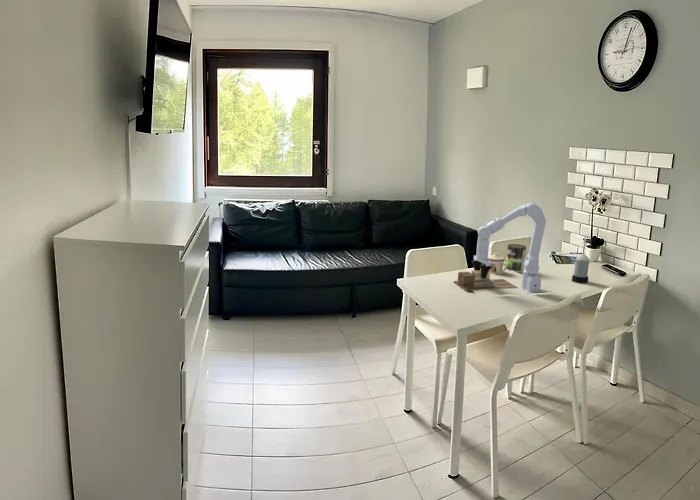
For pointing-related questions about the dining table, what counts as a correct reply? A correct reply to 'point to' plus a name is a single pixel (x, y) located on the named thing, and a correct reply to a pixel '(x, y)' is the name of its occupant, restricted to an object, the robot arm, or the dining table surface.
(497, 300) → the dining table surface
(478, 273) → the beige pillar with cap
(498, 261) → the teacup with lid
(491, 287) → the post board
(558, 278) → the dining table surface
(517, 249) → the coffee can
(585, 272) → the humidifier
